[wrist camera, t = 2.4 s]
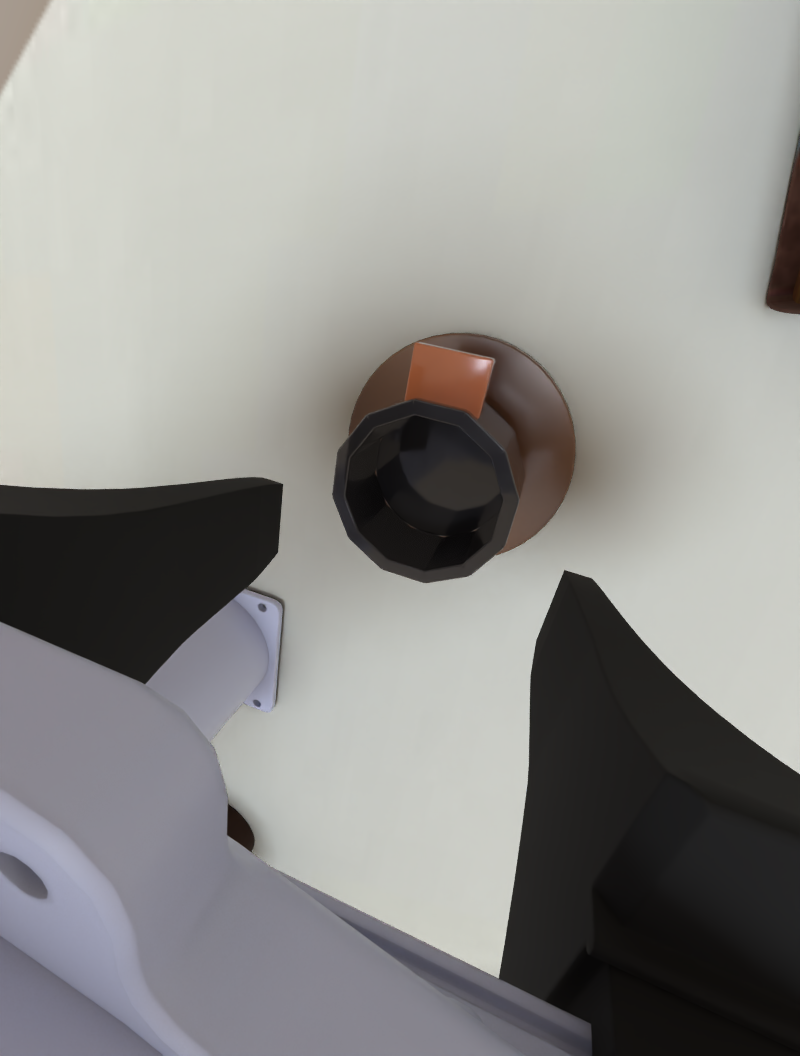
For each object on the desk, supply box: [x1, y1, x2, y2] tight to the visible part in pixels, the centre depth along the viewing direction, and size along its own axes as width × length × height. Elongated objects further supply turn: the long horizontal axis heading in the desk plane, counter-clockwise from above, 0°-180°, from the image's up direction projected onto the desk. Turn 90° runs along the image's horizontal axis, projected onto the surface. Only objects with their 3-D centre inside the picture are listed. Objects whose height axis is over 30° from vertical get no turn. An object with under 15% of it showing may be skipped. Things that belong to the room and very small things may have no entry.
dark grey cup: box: [332, 342, 525, 583], centre depth 16 cm, size 6×7×5 cm
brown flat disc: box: [349, 333, 575, 555], centre depth 19 cm, size 9×9×1 cm
